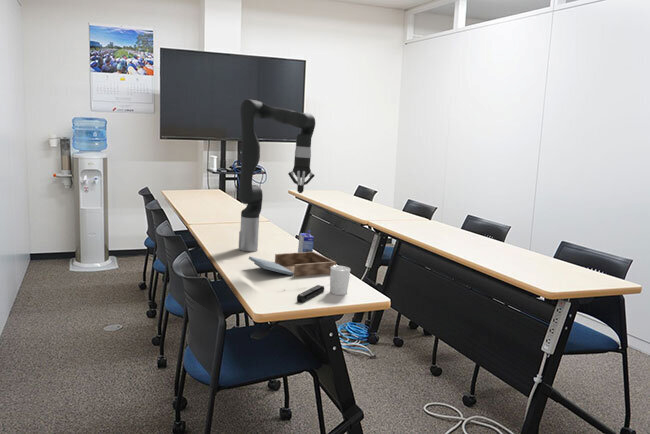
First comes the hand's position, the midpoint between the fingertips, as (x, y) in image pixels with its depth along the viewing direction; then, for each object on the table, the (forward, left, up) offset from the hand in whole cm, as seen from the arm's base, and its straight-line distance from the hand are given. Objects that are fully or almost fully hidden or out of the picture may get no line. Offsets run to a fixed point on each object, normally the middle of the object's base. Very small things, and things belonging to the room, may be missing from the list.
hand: (300, 192), depth 248 cm
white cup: (+22, -46, -33) cm, 61 cm away
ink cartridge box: (+4, +4, -33) cm, 34 cm away
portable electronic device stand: (+12, -54, -34) cm, 65 cm away
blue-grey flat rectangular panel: (-2, -26, -32) cm, 41 cm away
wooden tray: (+6, -20, -33) cm, 39 cm away
